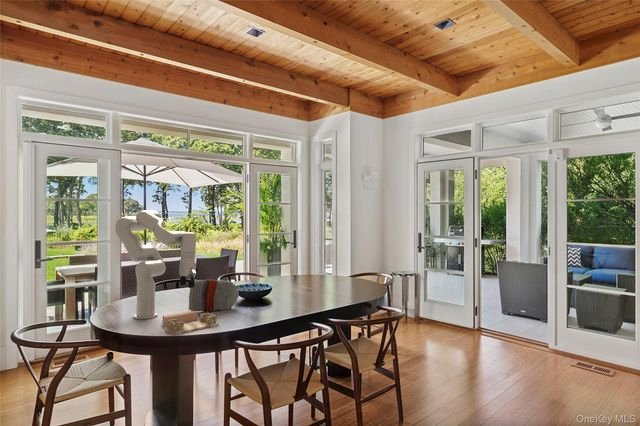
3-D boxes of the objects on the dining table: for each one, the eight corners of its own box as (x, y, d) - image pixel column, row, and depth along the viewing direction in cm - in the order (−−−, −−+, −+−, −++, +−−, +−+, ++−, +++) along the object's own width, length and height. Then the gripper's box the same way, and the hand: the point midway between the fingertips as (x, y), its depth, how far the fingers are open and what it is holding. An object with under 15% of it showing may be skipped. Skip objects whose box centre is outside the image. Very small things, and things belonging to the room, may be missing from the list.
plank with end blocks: (175, 334, 191) (176, 324, 191) (164, 329, 200) (164, 319, 200) (218, 325, 209) (218, 316, 209) (206, 321, 217) (206, 312, 217)
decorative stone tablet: (194, 280, 230) (241, 280, 248) (190, 278, 235) (236, 279, 253) (190, 313, 229) (237, 311, 246) (186, 311, 234) (233, 309, 252)
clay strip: (165, 327, 205) (166, 317, 205) (162, 325, 208) (162, 316, 208) (197, 321, 218) (197, 312, 218) (193, 319, 221) (193, 310, 221)
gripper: (174, 253, 218) (173, 284, 218) (188, 256, 205) (187, 289, 205) (187, 253, 223) (186, 283, 223) (202, 256, 211) (201, 288, 211)
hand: (187, 286), depth 214 cm, fingers open, 9 cm apart
